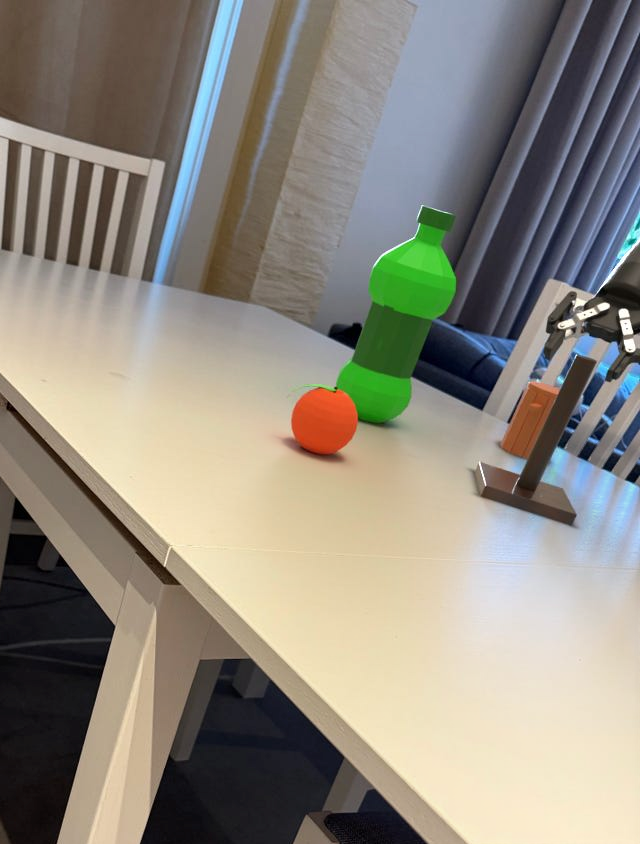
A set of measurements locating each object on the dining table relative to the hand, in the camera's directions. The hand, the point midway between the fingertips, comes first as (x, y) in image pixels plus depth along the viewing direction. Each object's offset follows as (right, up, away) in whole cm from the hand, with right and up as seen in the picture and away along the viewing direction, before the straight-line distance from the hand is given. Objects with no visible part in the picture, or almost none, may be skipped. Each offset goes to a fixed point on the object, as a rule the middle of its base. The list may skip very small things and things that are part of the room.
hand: (577, 366), depth 124 cm
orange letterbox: (-8, -12, -1) cm, 14 cm away
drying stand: (-16, -21, -20) cm, 33 cm away
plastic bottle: (-30, -8, -4) cm, 31 cm away
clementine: (-40, -17, -25) cm, 50 cm away
